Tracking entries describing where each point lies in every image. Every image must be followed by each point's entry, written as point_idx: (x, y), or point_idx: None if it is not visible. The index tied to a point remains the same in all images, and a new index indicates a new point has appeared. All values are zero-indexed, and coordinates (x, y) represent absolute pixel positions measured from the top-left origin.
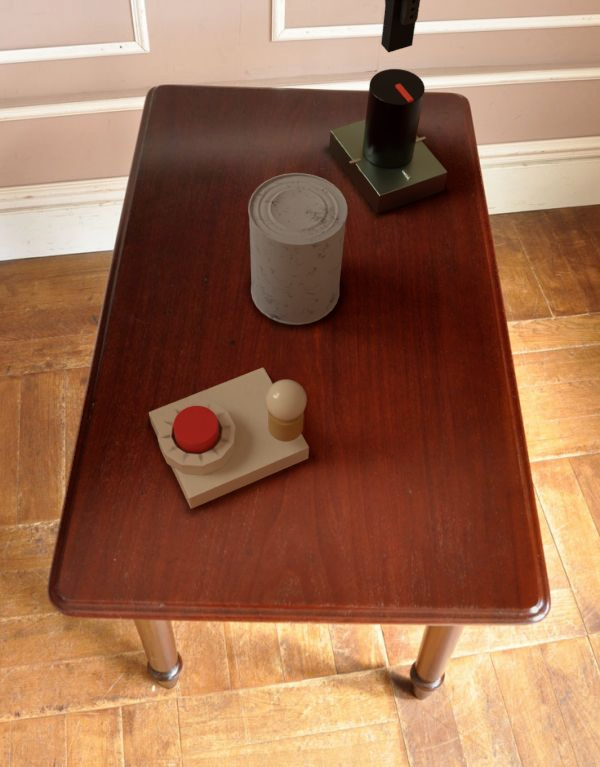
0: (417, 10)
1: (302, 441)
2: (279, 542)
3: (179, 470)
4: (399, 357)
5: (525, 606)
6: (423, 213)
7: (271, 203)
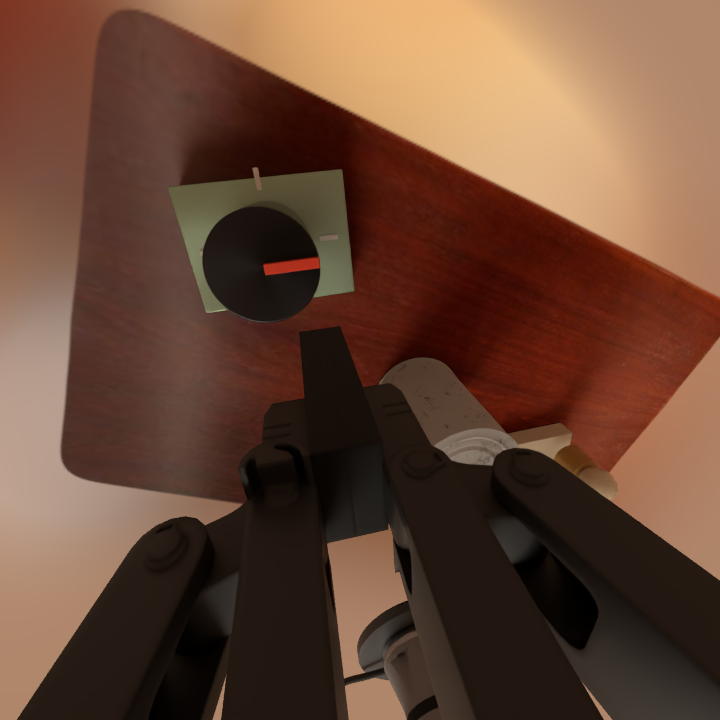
0: (410, 411)
1: (566, 436)
2: (595, 449)
3: None
4: (526, 330)
5: None
6: (367, 221)
7: None
